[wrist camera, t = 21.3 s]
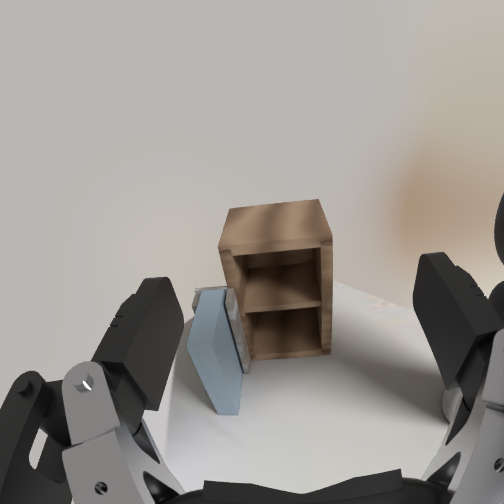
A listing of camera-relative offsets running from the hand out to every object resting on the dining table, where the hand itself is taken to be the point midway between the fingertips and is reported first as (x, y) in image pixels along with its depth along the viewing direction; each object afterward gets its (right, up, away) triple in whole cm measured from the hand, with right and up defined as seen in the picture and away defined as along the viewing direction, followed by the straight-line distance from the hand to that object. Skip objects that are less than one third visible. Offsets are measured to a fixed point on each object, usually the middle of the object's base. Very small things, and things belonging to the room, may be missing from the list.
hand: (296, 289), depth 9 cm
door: (-5, -20, +35) cm, 40 cm away
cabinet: (+3, -14, +42) cm, 45 cm away
